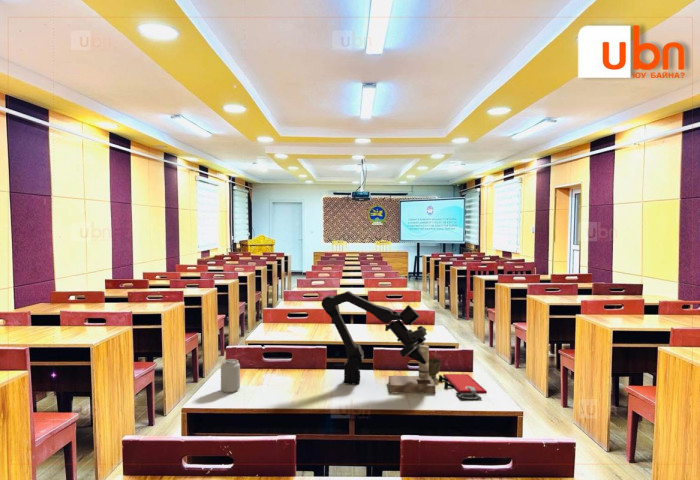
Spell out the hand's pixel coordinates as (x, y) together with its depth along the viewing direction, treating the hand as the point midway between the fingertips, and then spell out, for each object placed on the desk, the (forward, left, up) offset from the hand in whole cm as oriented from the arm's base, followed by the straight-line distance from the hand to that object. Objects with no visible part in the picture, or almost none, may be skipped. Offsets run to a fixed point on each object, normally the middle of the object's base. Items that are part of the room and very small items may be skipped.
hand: (426, 362), depth 182 cm
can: (-80, -4, -11) cm, 81 cm away
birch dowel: (-1, +1, -7) cm, 7 cm away
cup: (+5, +16, -11) cm, 20 cm away
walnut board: (-6, +2, -11) cm, 13 cm away
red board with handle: (+15, +4, -12) cm, 20 cm away
